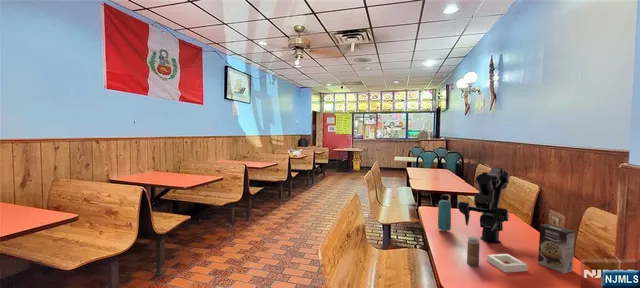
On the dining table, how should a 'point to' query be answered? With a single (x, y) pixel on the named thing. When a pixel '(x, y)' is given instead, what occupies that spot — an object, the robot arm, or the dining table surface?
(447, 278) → the dining table surface
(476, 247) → the pepper mill
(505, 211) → the robot arm
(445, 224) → the beverage bottle
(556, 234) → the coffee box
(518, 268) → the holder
